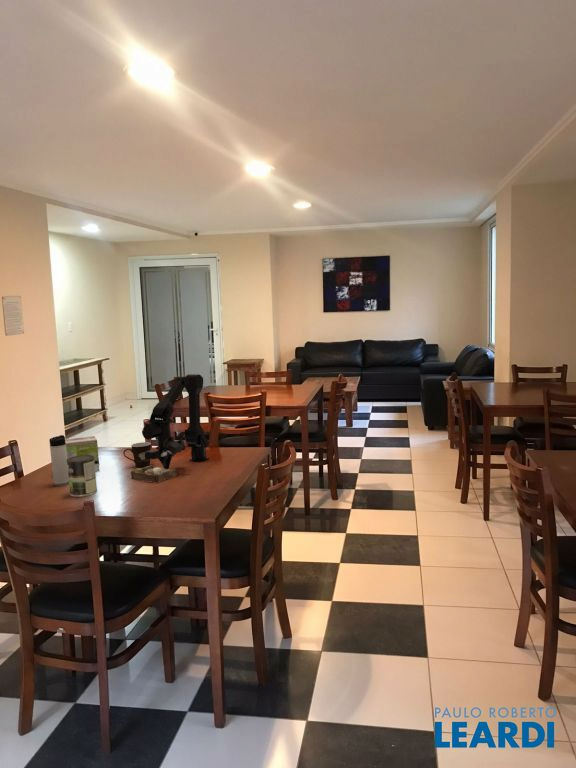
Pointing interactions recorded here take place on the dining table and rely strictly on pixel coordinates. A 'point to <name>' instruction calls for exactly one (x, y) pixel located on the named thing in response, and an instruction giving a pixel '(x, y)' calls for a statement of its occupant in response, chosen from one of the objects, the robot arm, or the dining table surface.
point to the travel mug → (59, 460)
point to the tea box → (83, 448)
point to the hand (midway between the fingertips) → (166, 470)
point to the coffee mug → (140, 454)
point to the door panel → (158, 470)
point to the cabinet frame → (151, 474)
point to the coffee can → (82, 475)
